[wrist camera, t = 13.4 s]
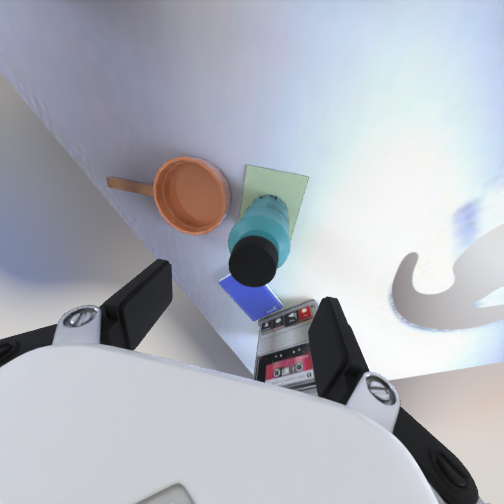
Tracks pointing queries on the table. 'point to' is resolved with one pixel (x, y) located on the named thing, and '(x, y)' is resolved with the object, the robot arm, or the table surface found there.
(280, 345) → the tall grey upright box
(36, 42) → the table surface
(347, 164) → the table surface
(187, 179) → the pan
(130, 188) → the pan handle
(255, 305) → the hard drive
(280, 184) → the cloth
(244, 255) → the beverage bottle
